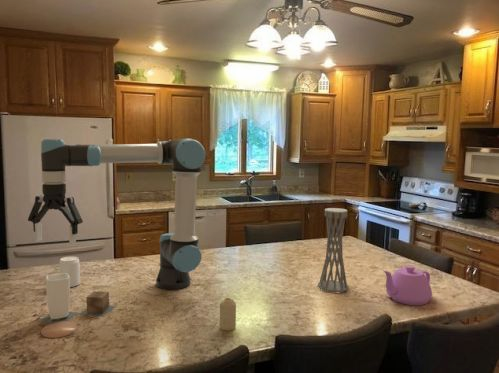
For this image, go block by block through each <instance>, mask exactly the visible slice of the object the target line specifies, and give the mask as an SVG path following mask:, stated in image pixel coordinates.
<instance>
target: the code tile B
mask: <svg viewBox="0 0 499 373" xmlns="http://www.w3.org/2000/svg"><path fill="white" fill-rule="evenodd" d="M116 308H117V305H110V304H109V308H108V309H107V310H106V311H105V312H104V313H87V308H85V309H84V310H82V311H80V312H78V313H79V314H78V315H84V316H93V317H94V316H95V317H102V318H103V317H105V316H106V315H107V314H109V313H110V312H112V311H114V310H115V309H116Z"/></svg>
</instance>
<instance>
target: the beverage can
mask: <svg viewBox="0 0 499 373" xmlns="http://www.w3.org/2000/svg"><path fill="white" fill-rule="evenodd" d="M58 265H59V274H60V273H67V274H68V275H69V277H70V288H75V287H77V286H78V285H80V284H81V270H80V269H81V267H80V259H79V257H78V256H70V255H69V256H64V257H61V258H60V260H59V262H58Z"/></svg>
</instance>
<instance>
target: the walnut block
mask: <svg viewBox="0 0 499 373" xmlns="http://www.w3.org/2000/svg"><path fill="white" fill-rule="evenodd" d="M109 305H110V292H109V291H95V290H94V291H93V290H92V292H91V293H89V295H87V296H86V309H87V313H104V312H105V311H106V310H107V309H108V308H109Z"/></svg>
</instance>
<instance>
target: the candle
mask: <svg viewBox="0 0 499 373" xmlns="http://www.w3.org/2000/svg"><path fill="white" fill-rule="evenodd" d="M236 316H237V303H236V301H234V299H231V298H230V297H226V298H224V299H223V300H222V301H221V302H219V329H220V330H223V331H233V330H235V329H236V326H237V325H236V324H237V322H236V321H237V318H236Z"/></svg>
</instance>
